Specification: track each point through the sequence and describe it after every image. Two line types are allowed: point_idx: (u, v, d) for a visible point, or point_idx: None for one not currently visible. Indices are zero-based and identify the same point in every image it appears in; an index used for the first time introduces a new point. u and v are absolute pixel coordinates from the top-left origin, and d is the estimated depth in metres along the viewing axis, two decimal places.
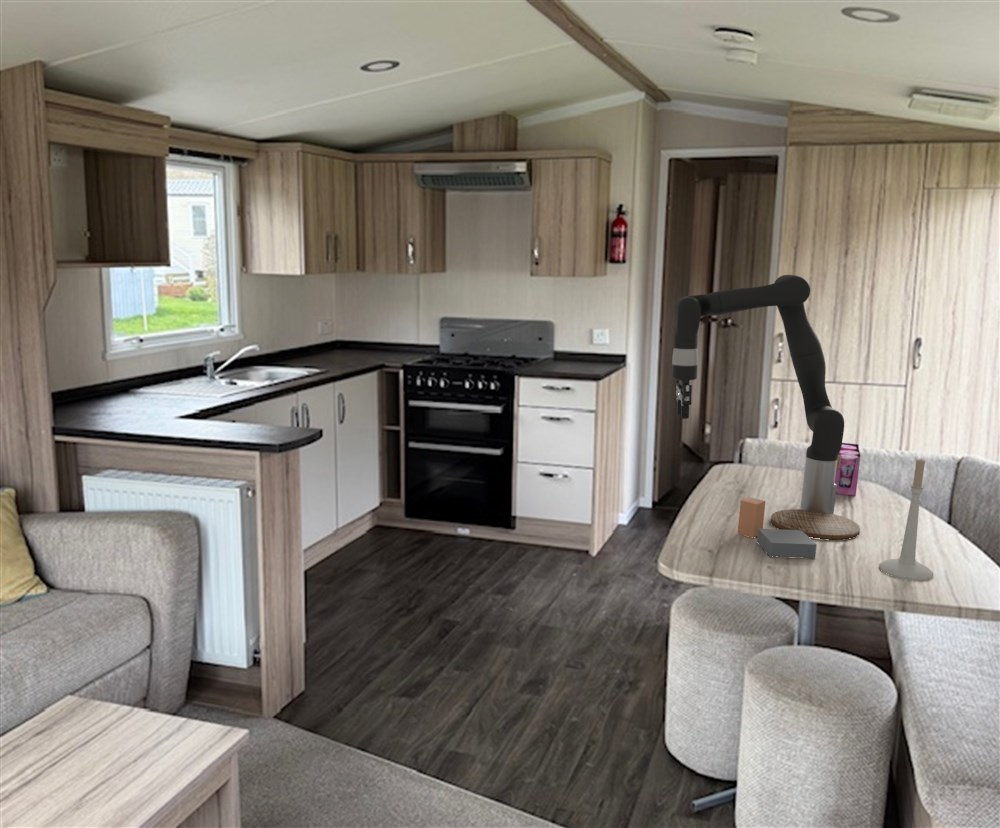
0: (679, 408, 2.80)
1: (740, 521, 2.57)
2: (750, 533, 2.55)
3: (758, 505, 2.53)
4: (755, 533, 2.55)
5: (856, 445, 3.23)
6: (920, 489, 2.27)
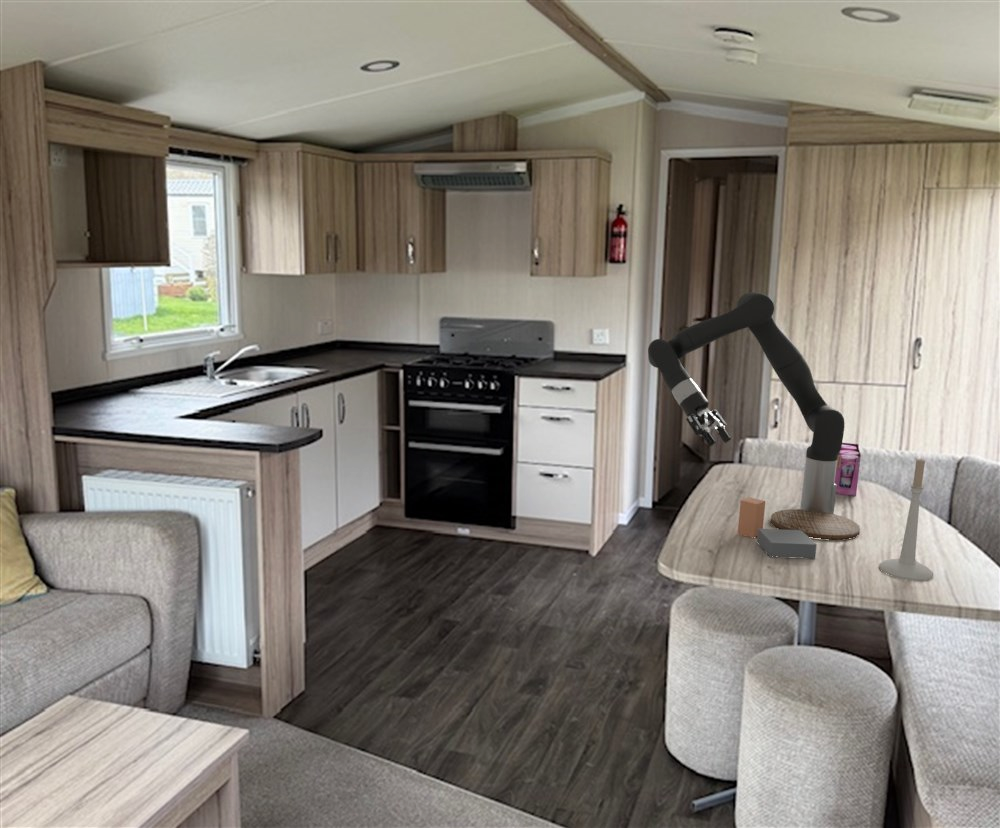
0: (723, 436, 2.65)
1: (740, 521, 2.57)
2: (750, 533, 2.55)
3: (758, 505, 2.53)
4: (755, 533, 2.55)
5: (856, 445, 3.23)
6: (920, 489, 2.27)
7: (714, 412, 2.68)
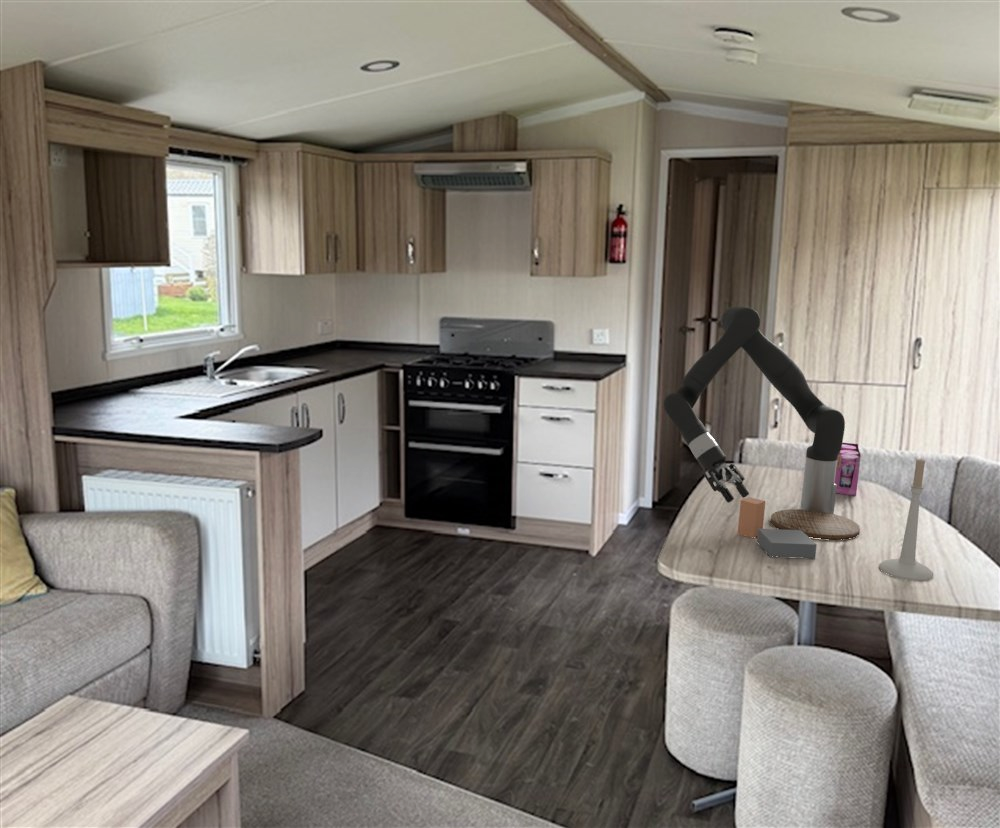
0: (740, 491, 2.63)
1: (740, 521, 2.57)
2: (750, 533, 2.55)
3: (758, 505, 2.53)
4: (755, 533, 2.55)
5: (855, 445, 3.23)
6: (920, 489, 2.27)
7: (731, 466, 2.66)
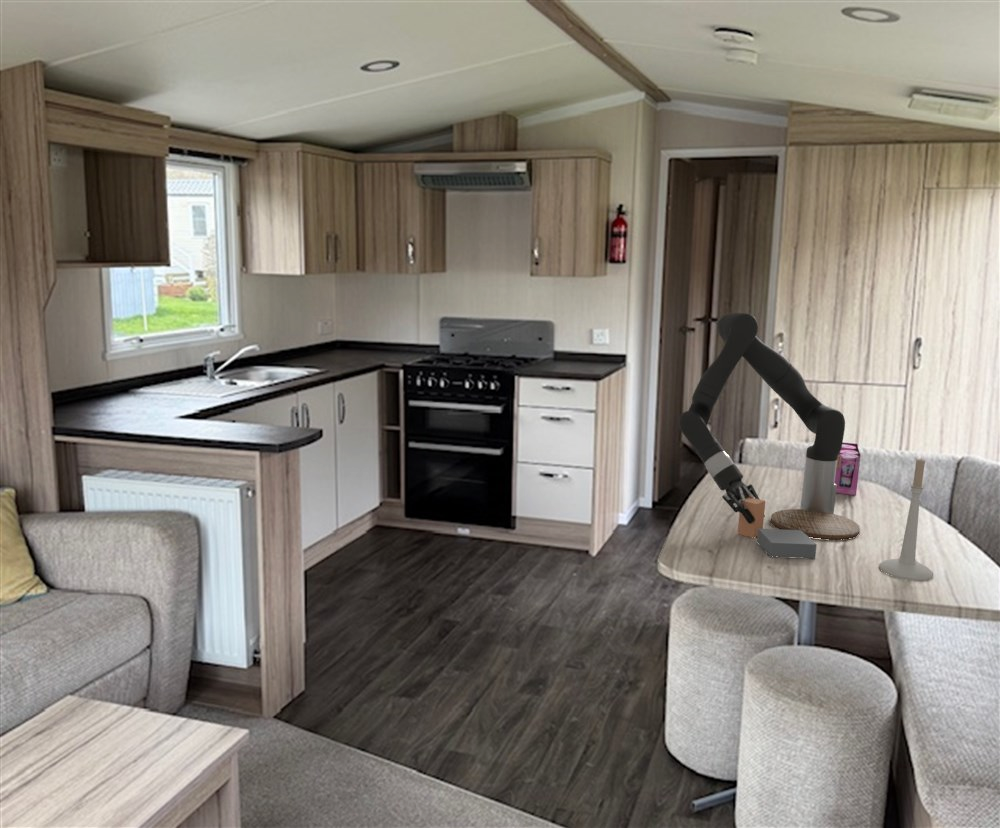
0: None
1: (740, 521, 2.57)
2: (750, 533, 2.55)
3: (758, 505, 2.53)
4: (755, 533, 2.55)
5: (855, 445, 3.24)
6: (920, 489, 2.27)
7: (749, 487, 2.62)
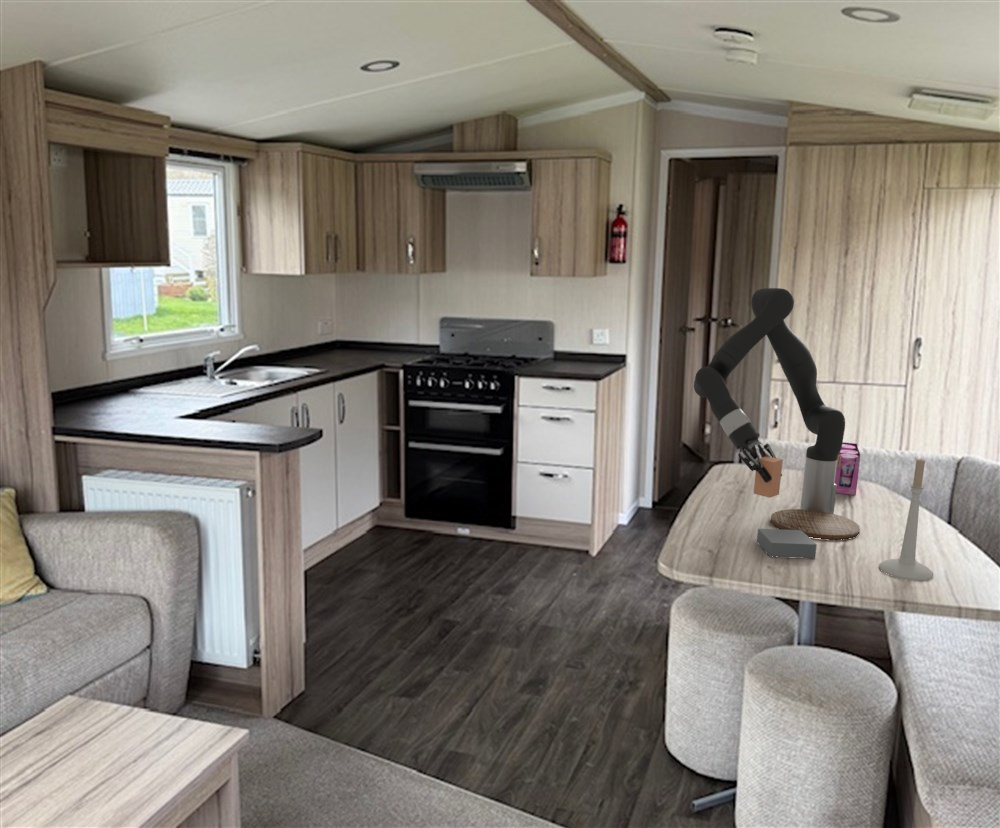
0: None
1: (756, 480, 2.49)
2: (766, 492, 2.48)
3: (775, 463, 2.46)
4: (772, 492, 2.47)
5: (855, 444, 3.24)
6: (920, 489, 2.27)
7: (766, 446, 2.55)
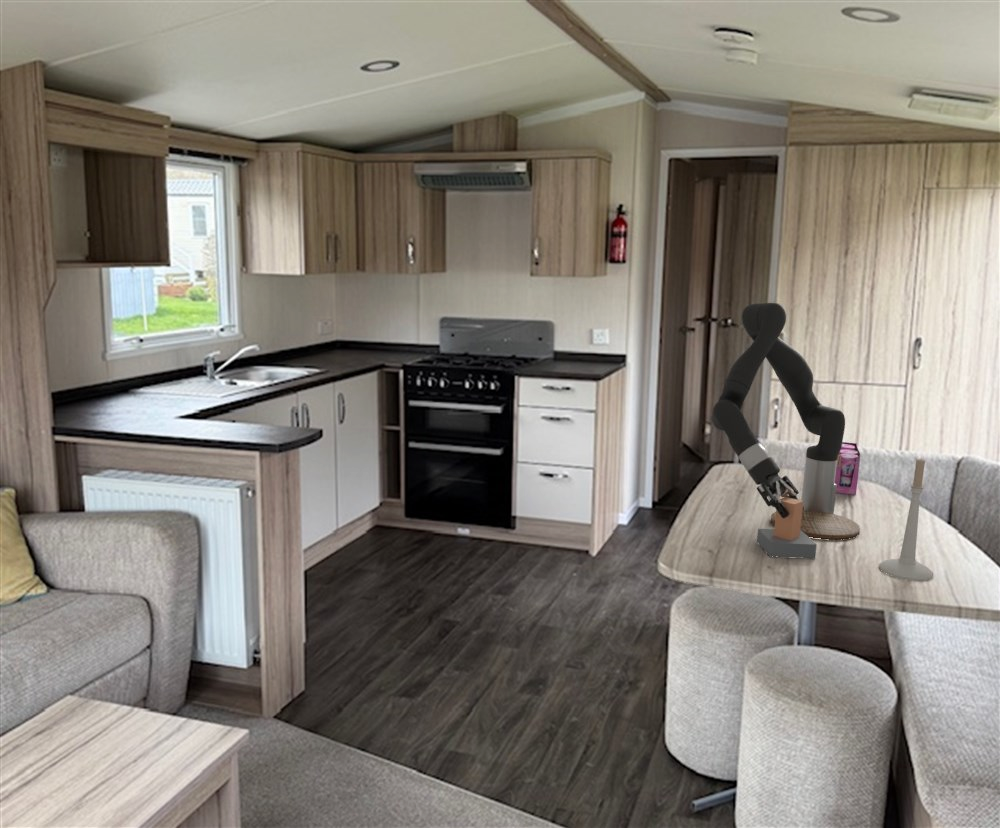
0: None
1: (776, 522, 2.43)
2: (787, 535, 2.41)
3: (796, 505, 2.40)
4: (793, 535, 2.41)
5: (854, 444, 3.24)
6: (920, 489, 2.27)
7: (785, 479, 2.49)
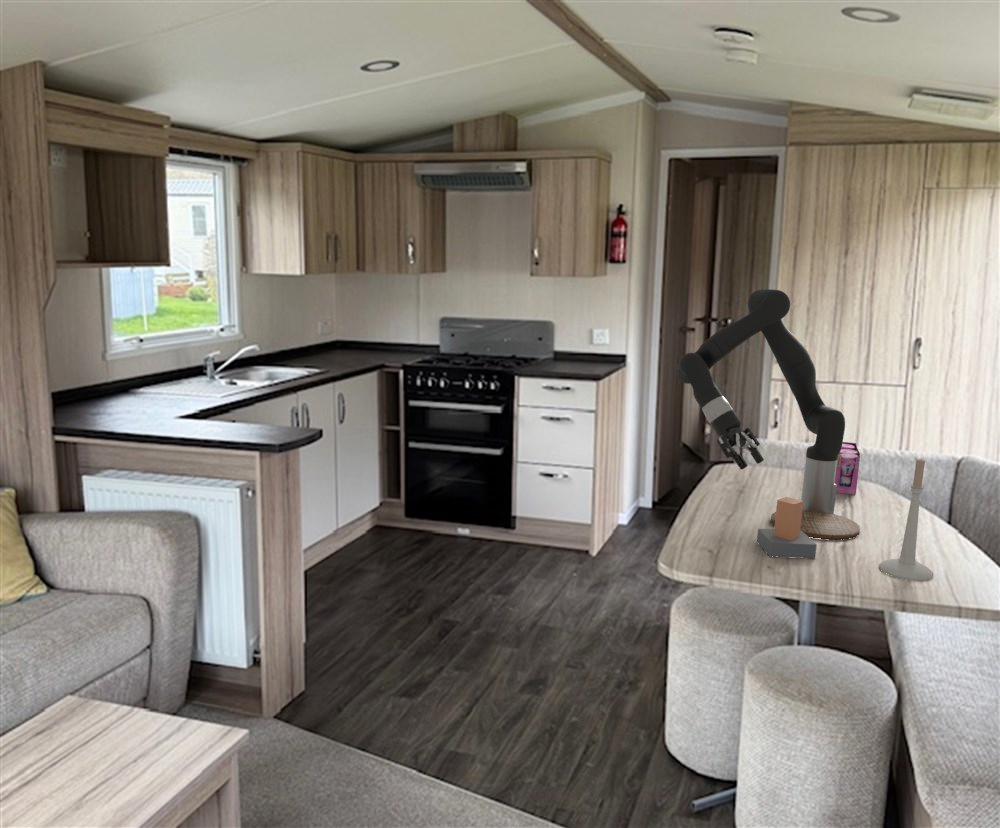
0: (755, 457, 2.54)
1: (776, 522, 2.43)
2: (787, 535, 2.41)
3: (796, 505, 2.40)
4: (793, 535, 2.41)
5: (853, 444, 3.25)
6: (920, 489, 2.27)
7: (746, 431, 2.57)
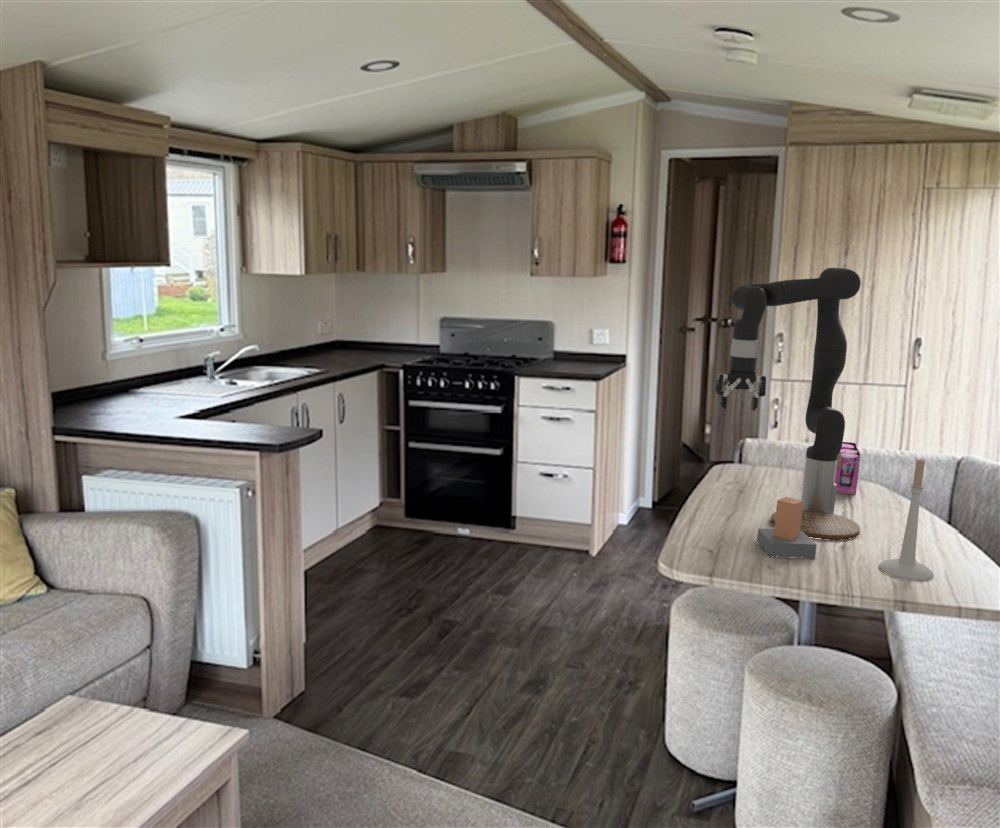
0: (751, 403, 2.68)
1: (776, 522, 2.43)
2: (787, 535, 2.41)
3: (796, 505, 2.40)
4: (793, 535, 2.41)
5: (853, 444, 3.25)
6: (920, 489, 2.27)
7: (761, 378, 2.65)
